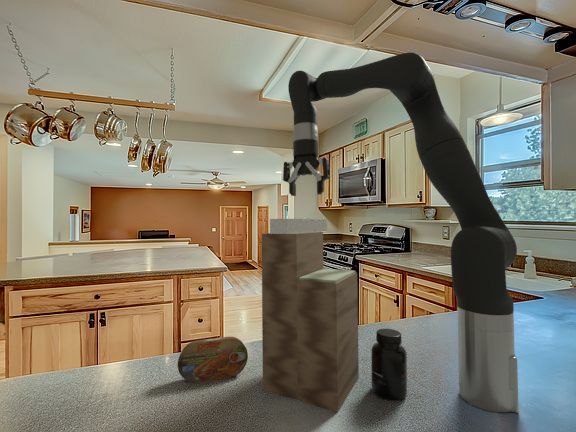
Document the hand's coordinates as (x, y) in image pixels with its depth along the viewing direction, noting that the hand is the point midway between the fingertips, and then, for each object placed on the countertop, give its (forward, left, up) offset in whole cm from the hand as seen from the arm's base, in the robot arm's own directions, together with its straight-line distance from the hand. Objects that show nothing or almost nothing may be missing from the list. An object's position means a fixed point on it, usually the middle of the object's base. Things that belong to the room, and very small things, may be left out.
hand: (306, 195), depth 93 cm
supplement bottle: (-27, +19, -43) cm, 54 cm away
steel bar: (-8, +19, -10) cm, 23 cm away
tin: (+9, +30, -43) cm, 53 cm away
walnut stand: (-12, +23, -42) cm, 50 cm away
